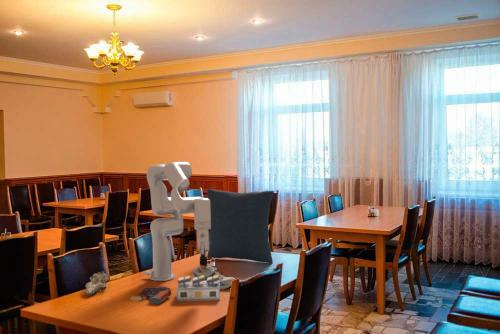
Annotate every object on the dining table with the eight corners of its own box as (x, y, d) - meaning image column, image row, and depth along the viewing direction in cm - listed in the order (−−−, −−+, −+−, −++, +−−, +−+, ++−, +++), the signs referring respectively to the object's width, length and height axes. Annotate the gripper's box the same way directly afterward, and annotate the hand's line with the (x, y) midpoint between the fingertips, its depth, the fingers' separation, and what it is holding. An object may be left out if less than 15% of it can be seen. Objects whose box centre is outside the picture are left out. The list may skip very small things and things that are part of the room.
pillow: (278, 260, 293) (278, 188, 292) (270, 266, 278) (270, 191, 277) (212, 255, 308) (212, 187, 306) (202, 261, 293) (201, 189, 291)
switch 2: (192, 283, 219) (192, 280, 219) (193, 281, 224) (192, 278, 224) (204, 280, 220) (204, 277, 220) (205, 277, 224) (204, 274, 224)
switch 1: (178, 283, 219) (177, 280, 219) (179, 281, 224) (178, 277, 224) (190, 281, 219) (189, 278, 219) (191, 278, 224) (190, 275, 224)
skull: (117, 275, 238) (101, 263, 239) (95, 296, 222) (78, 282, 223) (110, 287, 242) (94, 275, 243) (88, 308, 226) (71, 295, 227)
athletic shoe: (233, 290, 232) (234, 264, 234) (187, 288, 236) (189, 263, 239) (238, 289, 241) (239, 264, 244) (194, 287, 246) (195, 263, 248)
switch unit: (176, 301, 216) (176, 286, 215) (179, 293, 228) (179, 278, 228) (219, 300, 217) (219, 285, 216) (220, 292, 229) (219, 277, 228)
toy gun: (161, 306, 212) (178, 293, 226) (159, 294, 211) (176, 282, 225) (128, 306, 219) (147, 293, 233) (126, 295, 218) (145, 283, 232)
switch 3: (207, 283, 220) (206, 280, 220) (207, 280, 225) (206, 277, 225) (219, 280, 220) (218, 277, 220) (219, 277, 225) (218, 274, 225)
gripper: (210, 227, 214) (211, 268, 214) (211, 222, 229) (212, 261, 229) (193, 228, 213) (194, 269, 214) (195, 223, 228) (196, 262, 229)
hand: (203, 265), depth 221 cm, fingers closed
